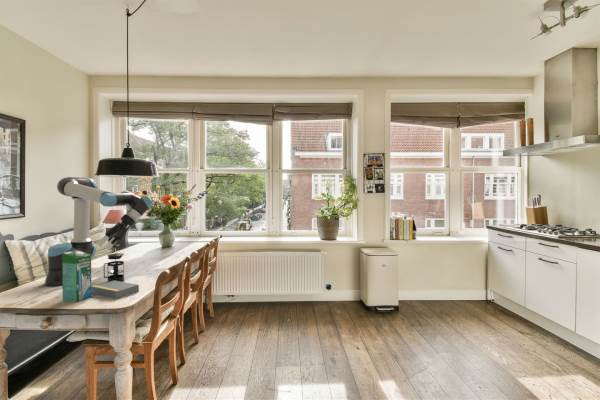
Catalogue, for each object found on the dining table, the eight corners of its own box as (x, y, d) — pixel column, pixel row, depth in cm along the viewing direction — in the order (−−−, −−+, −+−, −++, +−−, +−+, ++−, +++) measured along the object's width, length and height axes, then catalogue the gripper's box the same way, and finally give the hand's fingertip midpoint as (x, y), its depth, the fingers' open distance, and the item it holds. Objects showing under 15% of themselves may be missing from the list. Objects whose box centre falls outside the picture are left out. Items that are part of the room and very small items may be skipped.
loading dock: (91, 294, 182) (90, 286, 182) (114, 287, 194) (114, 279, 194) (116, 299, 174) (116, 291, 174) (138, 291, 186) (138, 284, 186)
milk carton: (77, 302, 169) (76, 253, 168) (62, 300, 170) (61, 252, 170) (91, 296, 177) (91, 250, 177) (77, 295, 179) (76, 249, 178)
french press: (126, 278, 212) (126, 243, 212) (124, 282, 204) (124, 245, 203) (105, 280, 208) (104, 244, 207) (102, 284, 199) (102, 246, 198)
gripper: (144, 223, 187) (115, 253, 176) (127, 220, 204) (100, 248, 193) (134, 214, 183) (104, 245, 172) (118, 212, 200) (90, 240, 189)
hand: (102, 246), depth 183 cm, fingers open, 13 cm apart
